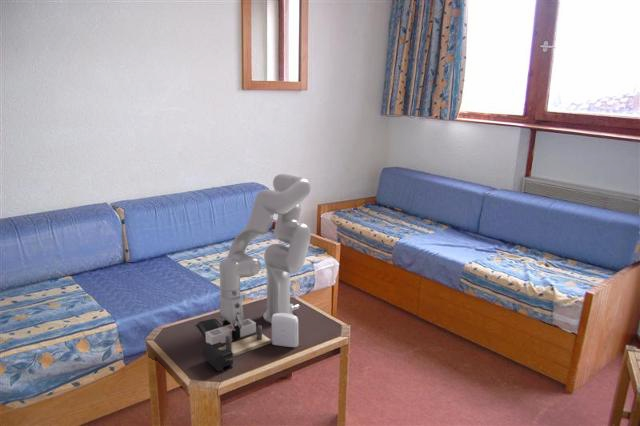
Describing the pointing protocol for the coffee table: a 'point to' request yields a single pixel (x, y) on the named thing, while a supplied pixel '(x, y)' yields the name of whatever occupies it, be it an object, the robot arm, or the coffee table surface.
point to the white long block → (230, 332)
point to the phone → (209, 325)
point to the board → (246, 343)
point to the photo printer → (285, 330)
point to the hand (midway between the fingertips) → (231, 335)
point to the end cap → (217, 356)
